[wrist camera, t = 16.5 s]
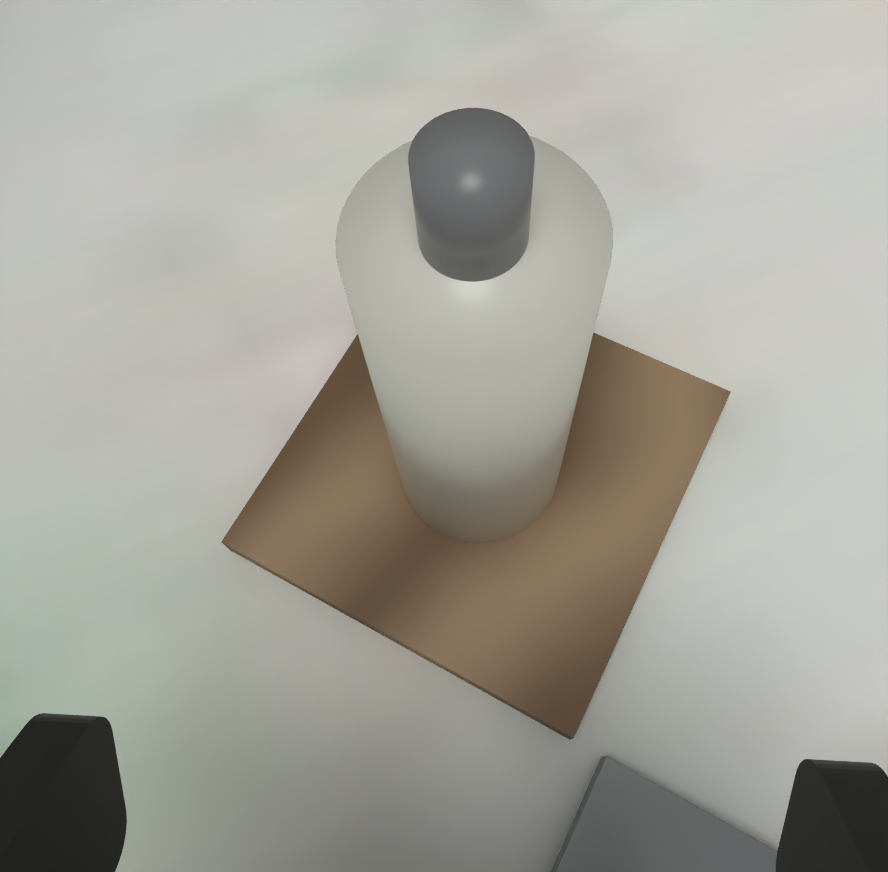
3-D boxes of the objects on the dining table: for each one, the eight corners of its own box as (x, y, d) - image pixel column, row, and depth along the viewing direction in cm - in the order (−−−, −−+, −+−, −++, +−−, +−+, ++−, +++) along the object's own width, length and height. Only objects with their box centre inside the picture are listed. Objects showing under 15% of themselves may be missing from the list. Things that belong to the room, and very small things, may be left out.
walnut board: (230, 550, 26) (221, 542, 25) (412, 269, 30) (410, 253, 29) (570, 739, 23) (573, 738, 22) (722, 404, 27) (730, 391, 26)
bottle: (371, 497, 25) (253, 214, 12) (448, 372, 27) (412, 5, 14) (513, 572, 24) (544, 344, 11) (584, 436, 26) (681, 100, 13)
